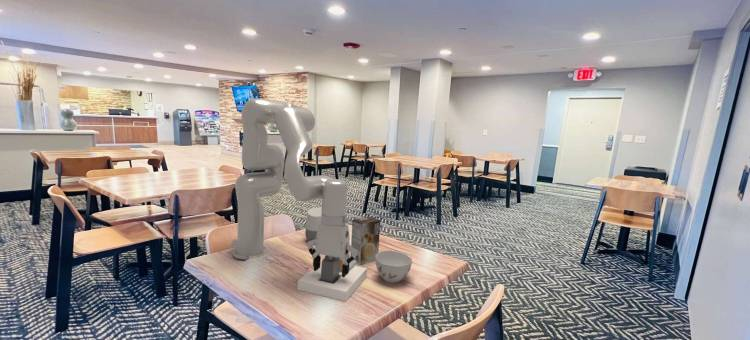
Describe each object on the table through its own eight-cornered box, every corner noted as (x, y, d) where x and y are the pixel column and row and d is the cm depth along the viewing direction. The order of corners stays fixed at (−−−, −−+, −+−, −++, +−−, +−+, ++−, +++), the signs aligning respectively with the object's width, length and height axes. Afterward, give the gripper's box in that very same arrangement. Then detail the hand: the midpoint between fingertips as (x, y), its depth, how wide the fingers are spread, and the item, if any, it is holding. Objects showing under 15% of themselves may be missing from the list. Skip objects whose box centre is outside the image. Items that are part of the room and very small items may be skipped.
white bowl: (396, 292, 103) (398, 268, 102) (366, 279, 110) (367, 256, 109) (421, 277, 114) (423, 255, 113) (392, 266, 122) (393, 245, 121)
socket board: (297, 289, 100) (297, 280, 100) (324, 267, 117) (325, 259, 117) (345, 301, 95) (346, 291, 95) (366, 276, 112) (367, 268, 112)
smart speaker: (303, 243, 139) (304, 211, 137) (307, 236, 148) (308, 206, 146) (325, 244, 139) (326, 212, 138) (328, 237, 148) (329, 207, 147)
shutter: (327, 268, 109) (328, 257, 109) (338, 259, 117) (339, 249, 117) (347, 272, 107) (347, 261, 106) (356, 263, 115) (357, 252, 114)
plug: (320, 288, 102) (322, 253, 100) (327, 281, 106) (329, 247, 105) (332, 291, 100) (334, 255, 99) (338, 283, 105) (340, 250, 104)
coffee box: (367, 254, 132) (370, 216, 130) (378, 260, 127) (381, 220, 125) (349, 259, 126) (352, 219, 124) (359, 265, 121) (362, 223, 119)
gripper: (363, 220, 102) (360, 273, 104) (314, 212, 107) (312, 262, 109) (354, 227, 94) (351, 283, 97) (302, 218, 100) (300, 271, 102)
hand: (330, 272), depth 103 cm, fingers open, 9 cm apart
